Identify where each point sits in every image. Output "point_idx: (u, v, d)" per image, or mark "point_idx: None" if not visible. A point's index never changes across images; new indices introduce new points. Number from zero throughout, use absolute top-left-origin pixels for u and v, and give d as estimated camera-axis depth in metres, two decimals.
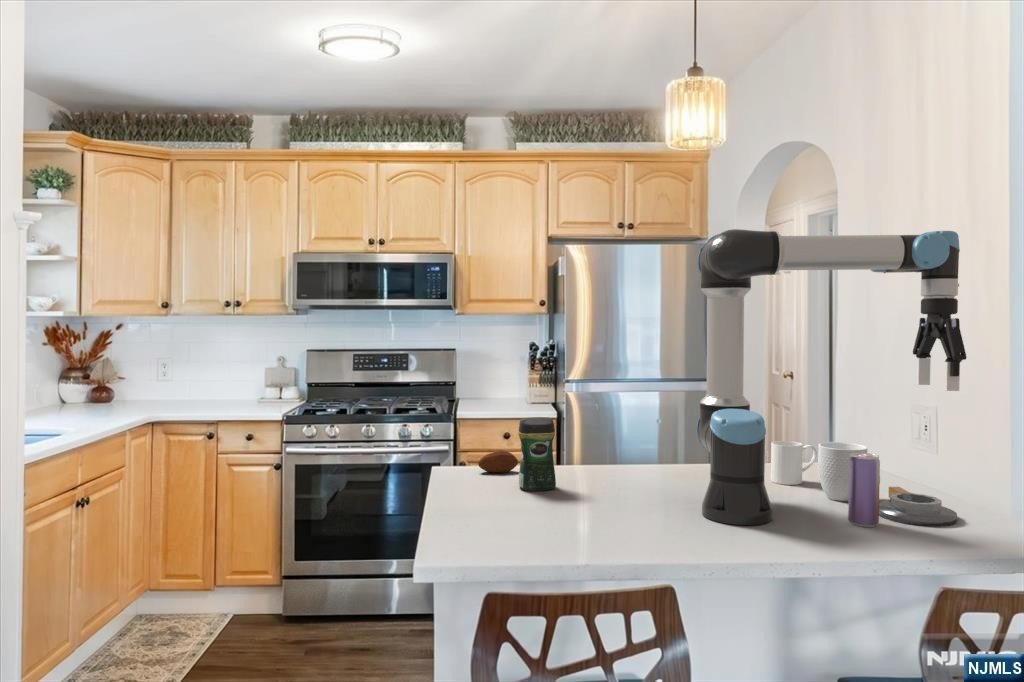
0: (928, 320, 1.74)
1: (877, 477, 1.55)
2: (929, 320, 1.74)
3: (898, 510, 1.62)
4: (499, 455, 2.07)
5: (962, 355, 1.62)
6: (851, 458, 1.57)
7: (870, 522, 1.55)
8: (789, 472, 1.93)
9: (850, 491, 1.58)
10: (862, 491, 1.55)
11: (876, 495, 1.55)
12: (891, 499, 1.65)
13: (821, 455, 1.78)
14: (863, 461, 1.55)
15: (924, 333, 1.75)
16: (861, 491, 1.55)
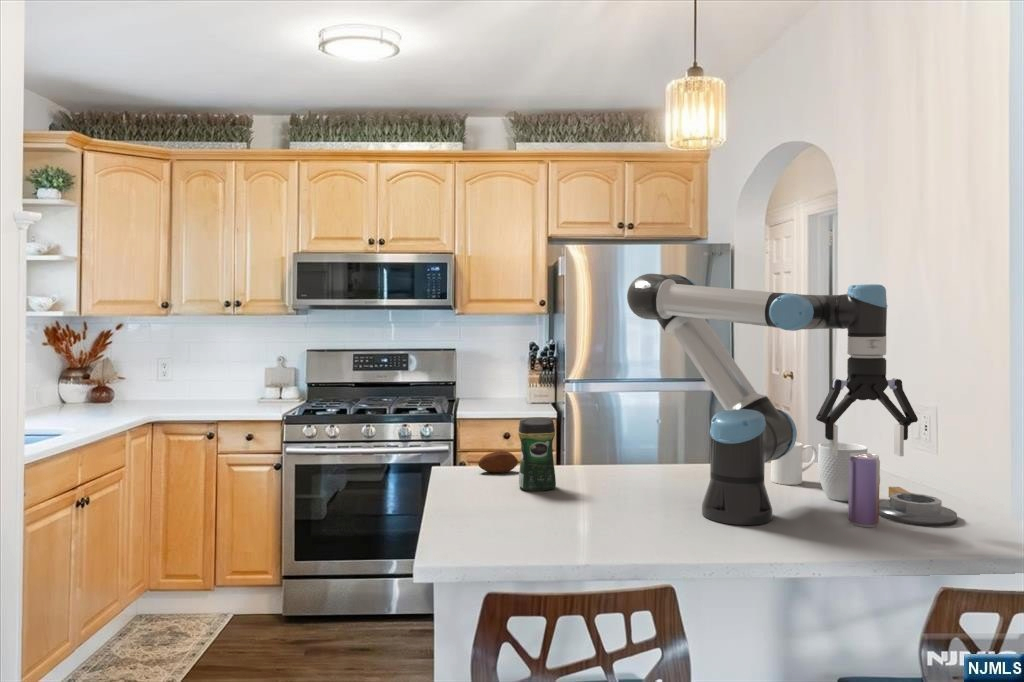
0: None
1: (877, 477, 1.55)
2: None
3: (898, 510, 1.62)
4: (499, 455, 2.07)
5: (819, 417, 1.57)
6: (851, 458, 1.57)
7: (870, 522, 1.55)
8: (789, 472, 1.93)
9: (850, 491, 1.58)
10: (862, 491, 1.55)
11: (876, 495, 1.55)
12: (891, 499, 1.65)
13: (821, 455, 1.78)
14: (863, 461, 1.55)
15: None
16: (861, 491, 1.55)
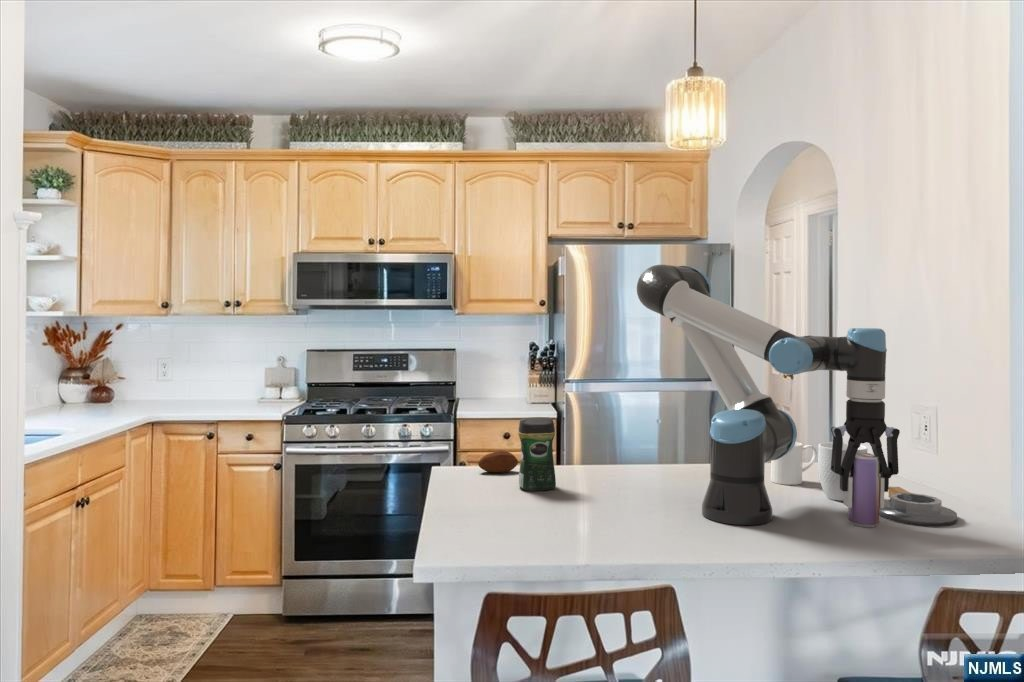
0: None
1: (877, 477, 1.55)
2: None
3: (898, 510, 1.62)
4: (499, 455, 2.07)
5: (833, 469, 1.57)
6: None
7: (870, 522, 1.55)
8: (789, 472, 1.93)
9: None
10: (862, 491, 1.55)
11: (876, 495, 1.55)
12: (891, 499, 1.65)
13: (821, 455, 1.78)
14: (863, 461, 1.55)
15: None
16: (861, 491, 1.55)
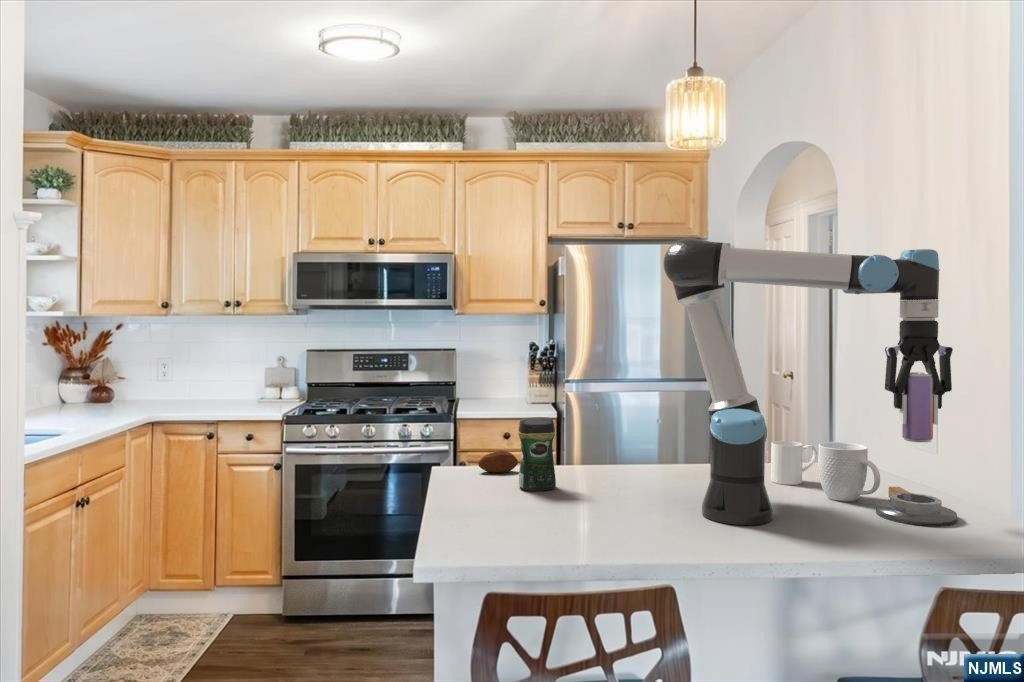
0: None
1: (931, 393, 1.60)
2: None
3: (898, 510, 1.62)
4: (499, 455, 2.07)
5: (888, 387, 1.62)
6: None
7: (925, 437, 1.60)
8: (789, 472, 1.93)
9: None
10: (916, 407, 1.60)
11: (931, 411, 1.60)
12: (891, 499, 1.65)
13: (821, 455, 1.78)
14: (917, 378, 1.60)
15: None
16: (915, 407, 1.60)
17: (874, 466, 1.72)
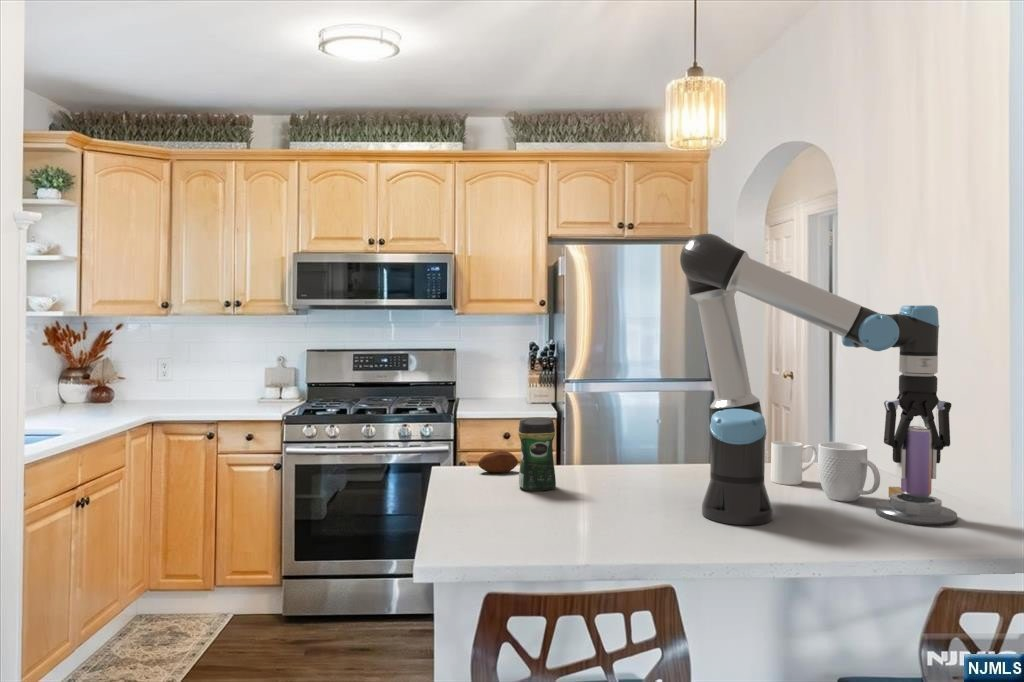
0: None
1: (930, 449, 1.61)
2: None
3: (898, 510, 1.62)
4: (499, 455, 2.07)
5: (887, 441, 1.63)
6: None
7: (923, 492, 1.60)
8: (789, 472, 1.93)
9: None
10: (915, 462, 1.61)
11: (929, 466, 1.61)
12: (891, 499, 1.65)
13: (821, 455, 1.78)
14: (916, 433, 1.60)
15: None
16: (914, 462, 1.61)
17: (874, 466, 1.72)
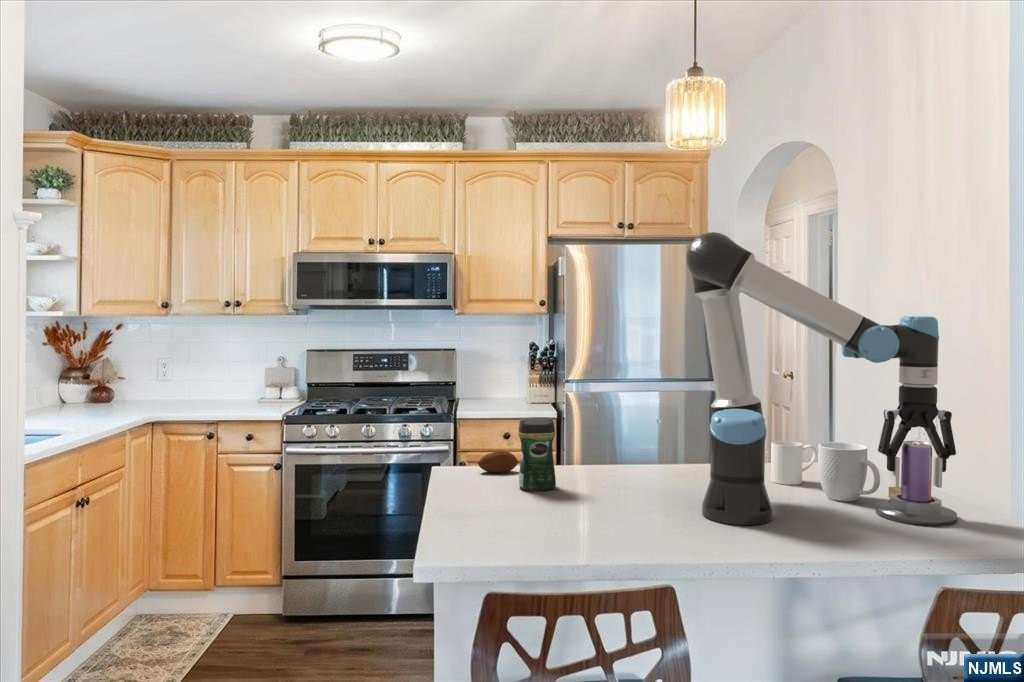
0: None
1: (930, 464, 1.61)
2: None
3: (898, 510, 1.62)
4: (499, 455, 2.07)
5: (881, 450, 1.63)
6: (904, 446, 1.63)
7: None
8: (789, 472, 1.93)
9: (903, 478, 1.63)
10: (915, 478, 1.61)
11: (929, 481, 1.61)
12: (891, 499, 1.65)
13: (821, 455, 1.78)
14: (916, 449, 1.60)
15: None
16: (914, 478, 1.61)
17: (874, 466, 1.72)
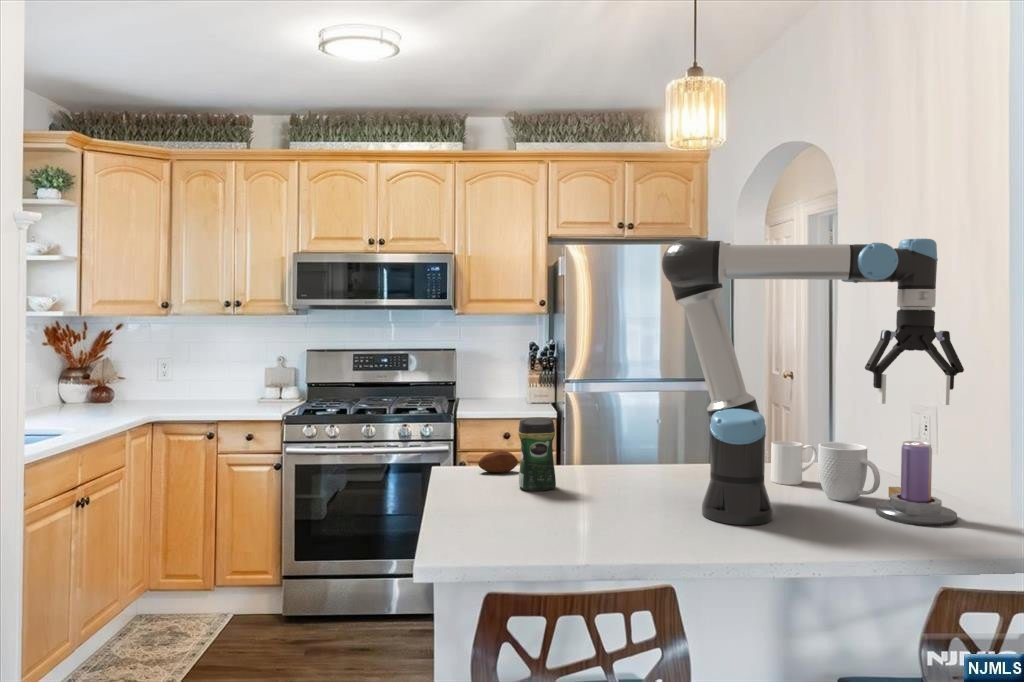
0: None
1: (929, 464, 1.61)
2: None
3: (898, 510, 1.62)
4: (499, 455, 2.07)
5: (868, 366, 1.63)
6: (904, 446, 1.63)
7: None
8: (789, 472, 1.93)
9: (903, 478, 1.63)
10: (915, 478, 1.61)
11: (929, 481, 1.61)
12: (891, 499, 1.65)
13: (821, 455, 1.78)
14: (916, 448, 1.61)
15: None
16: (914, 478, 1.61)
17: (874, 466, 1.72)
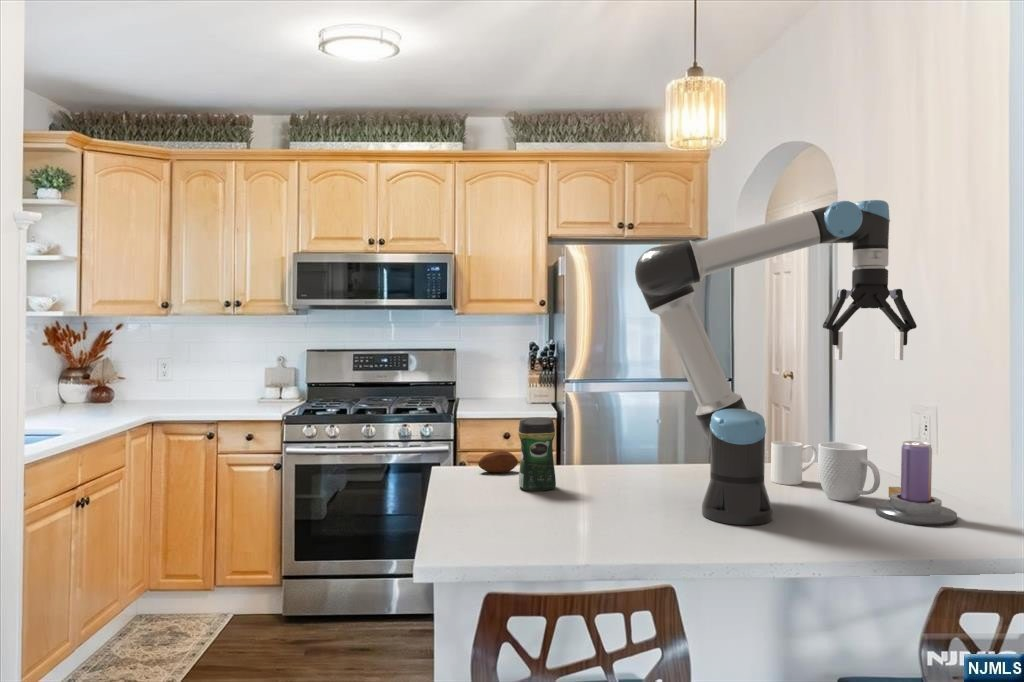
0: None
1: (930, 464, 1.61)
2: None
3: (898, 510, 1.62)
4: (499, 455, 2.07)
5: (825, 324, 1.70)
6: (904, 446, 1.63)
7: None
8: (789, 472, 1.93)
9: (903, 478, 1.63)
10: (915, 478, 1.61)
11: (929, 481, 1.61)
12: (891, 499, 1.65)
13: (821, 455, 1.78)
14: (916, 448, 1.61)
15: None
16: (914, 478, 1.61)
17: (874, 466, 1.72)
